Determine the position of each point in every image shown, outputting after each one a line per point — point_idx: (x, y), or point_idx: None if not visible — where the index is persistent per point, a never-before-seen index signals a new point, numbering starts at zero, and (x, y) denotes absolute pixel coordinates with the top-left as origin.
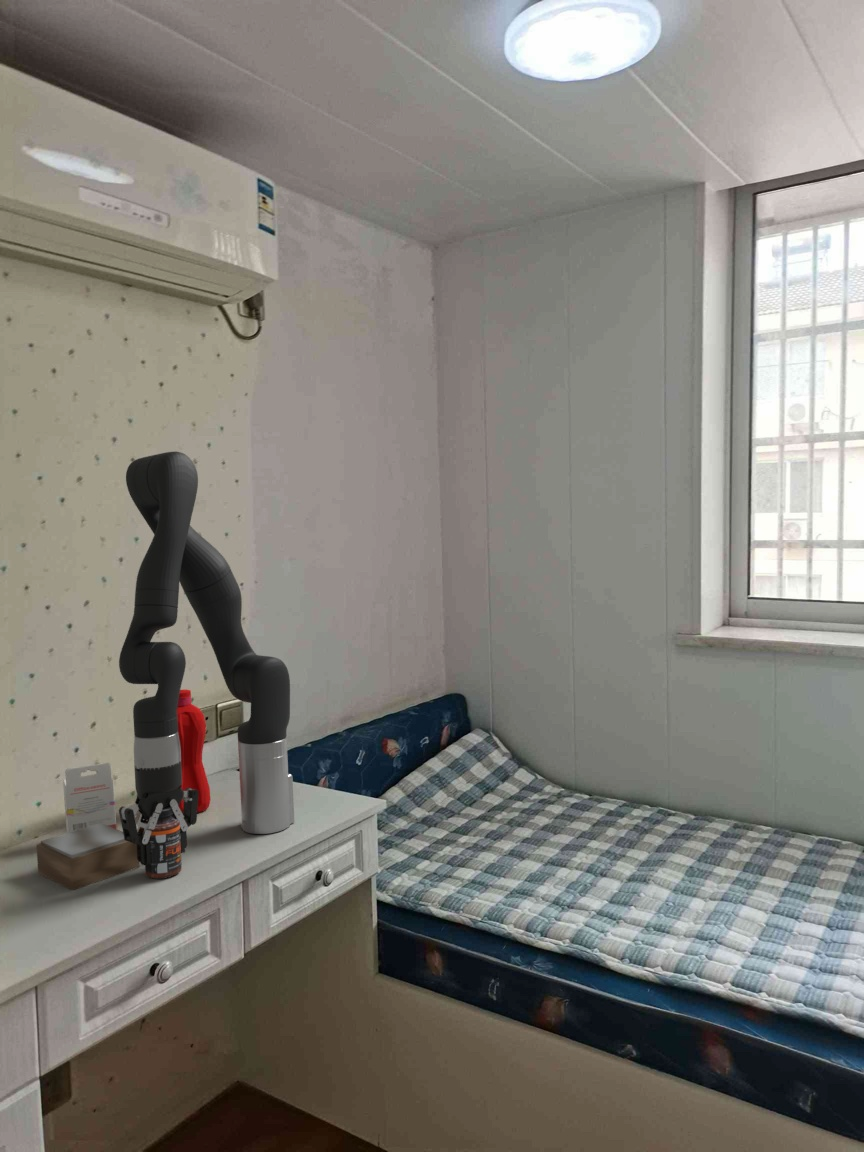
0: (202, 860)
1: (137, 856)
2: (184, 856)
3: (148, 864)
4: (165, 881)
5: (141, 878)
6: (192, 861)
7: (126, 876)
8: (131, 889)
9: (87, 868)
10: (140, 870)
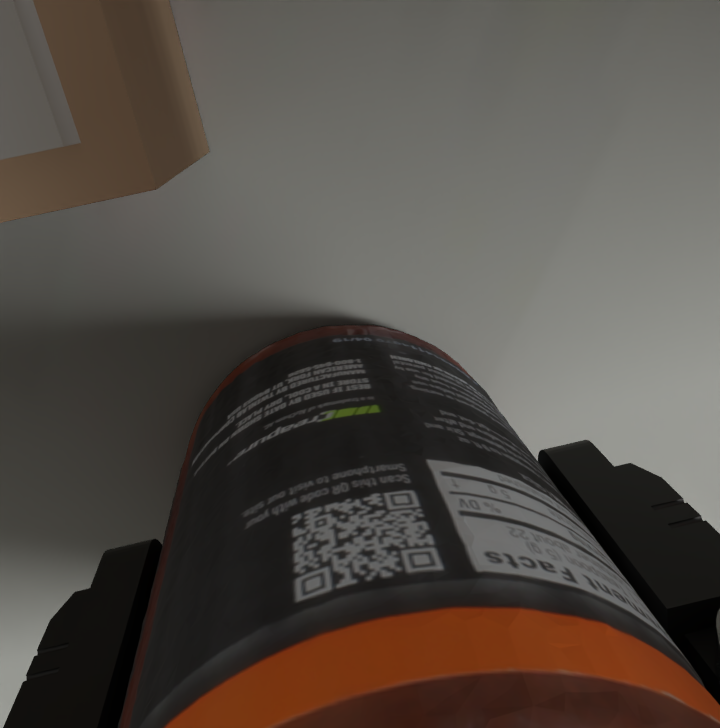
0: (708, 398)
1: (42, 650)
2: (666, 192)
3: None
4: None
5: (147, 449)
6: (643, 365)
7: (32, 316)
8: (19, 607)
9: None
10: (192, 256)
